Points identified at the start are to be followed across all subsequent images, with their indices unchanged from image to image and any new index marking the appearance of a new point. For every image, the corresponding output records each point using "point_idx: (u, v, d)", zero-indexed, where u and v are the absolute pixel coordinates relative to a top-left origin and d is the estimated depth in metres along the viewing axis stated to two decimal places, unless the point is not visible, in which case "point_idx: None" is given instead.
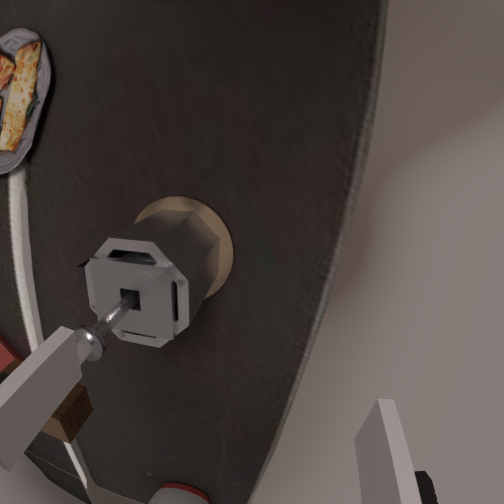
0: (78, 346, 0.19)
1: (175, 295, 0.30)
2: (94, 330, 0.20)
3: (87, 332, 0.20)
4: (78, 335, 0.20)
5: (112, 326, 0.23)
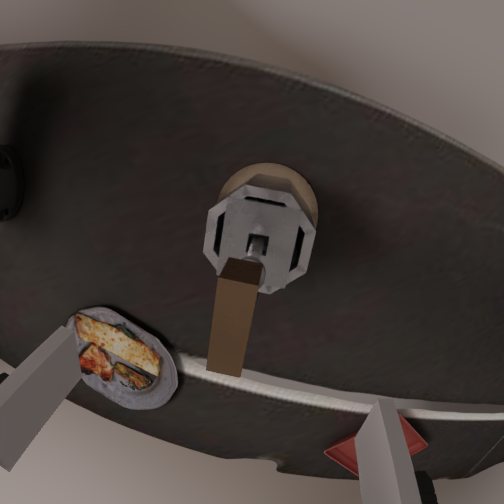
0: None
1: None
2: None
3: None
4: None
5: (254, 254, 0.27)
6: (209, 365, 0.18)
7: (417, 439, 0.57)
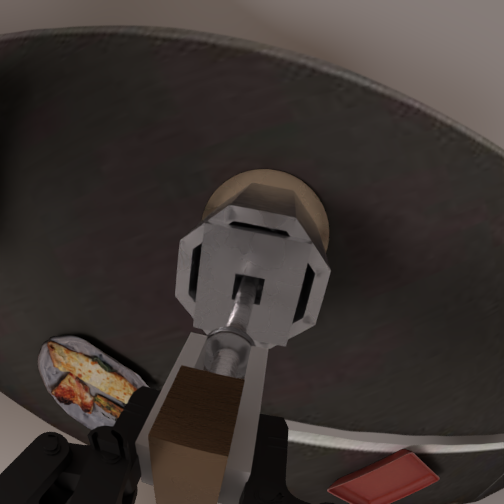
0: (210, 365, 0.14)
1: None
2: (208, 335, 0.15)
3: None
4: (209, 361, 0.15)
5: (240, 315, 0.18)
6: None
7: (428, 472, 0.47)
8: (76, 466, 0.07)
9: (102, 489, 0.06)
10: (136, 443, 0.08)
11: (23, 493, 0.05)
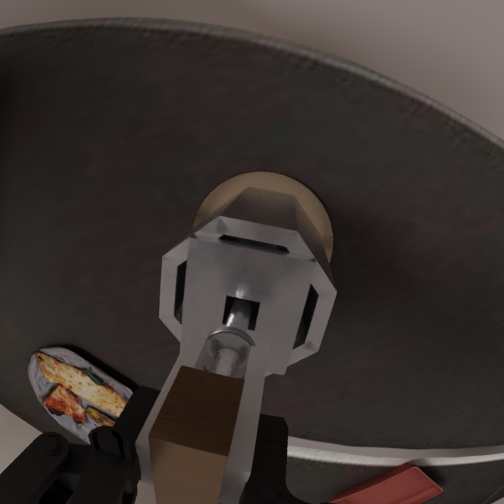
0: (211, 365, 0.14)
1: None
2: (208, 334, 0.15)
3: None
4: (209, 361, 0.15)
5: (240, 315, 0.18)
6: None
7: (431, 484, 0.44)
8: (76, 466, 0.07)
9: (102, 489, 0.06)
10: (136, 443, 0.08)
11: (23, 493, 0.05)
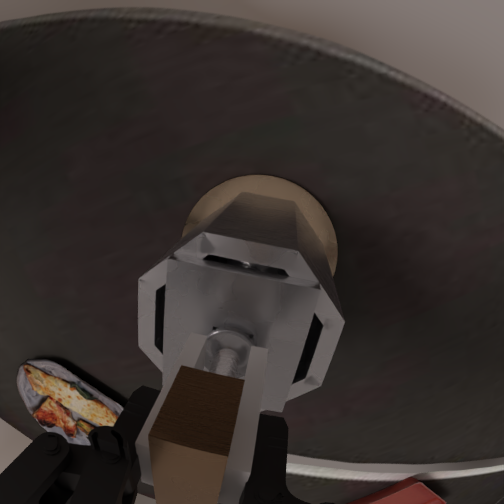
0: (210, 365, 0.14)
1: None
2: (208, 334, 0.15)
3: None
4: (209, 361, 0.15)
5: None
6: None
7: (435, 497, 0.41)
8: (76, 466, 0.07)
9: (102, 489, 0.06)
10: (136, 443, 0.08)
11: (23, 493, 0.05)
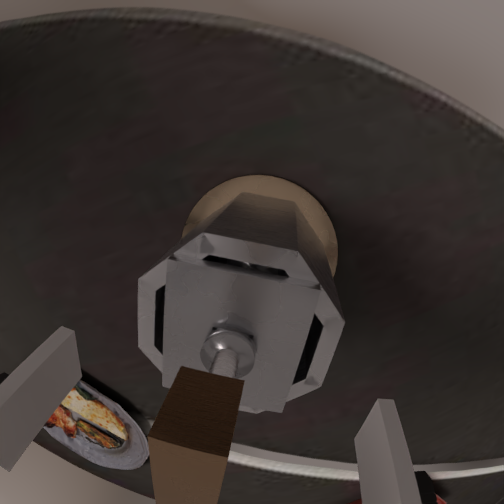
0: (210, 366, 0.14)
1: None
2: (208, 335, 0.15)
3: (203, 345, 0.15)
4: (209, 361, 0.15)
5: None
6: None
7: None
8: None
9: None
10: None
11: None
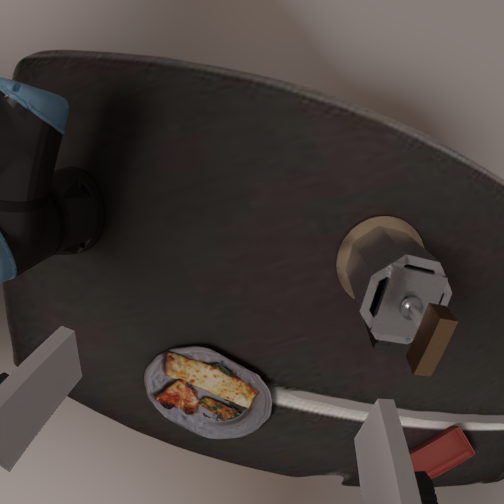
0: (410, 312, 0.30)
1: None
2: (404, 300, 0.32)
3: (404, 304, 0.31)
4: (404, 312, 0.31)
5: None
6: (416, 371, 0.25)
7: (466, 448, 0.56)
8: None
9: None
10: None
11: None
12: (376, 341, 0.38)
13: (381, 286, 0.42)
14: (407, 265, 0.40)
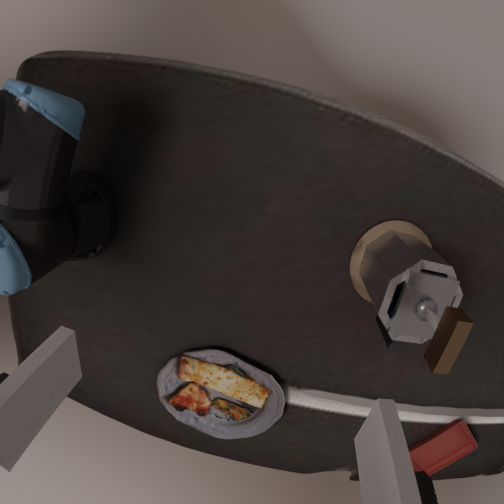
0: (426, 314, 0.32)
1: None
2: (420, 302, 0.33)
3: (420, 306, 0.32)
4: (420, 314, 0.33)
5: None
6: (435, 369, 0.26)
7: (469, 442, 0.58)
8: None
9: None
10: None
11: None
12: (391, 341, 0.39)
13: None
14: None
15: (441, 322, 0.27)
